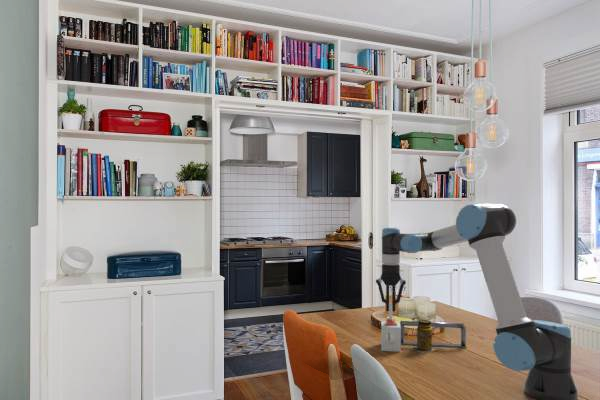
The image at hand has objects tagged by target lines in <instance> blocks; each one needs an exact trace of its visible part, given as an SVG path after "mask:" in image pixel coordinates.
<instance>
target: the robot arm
mask: <svg viewBox="0 0 600 400" xmlns="http://www.w3.org/2000/svg"><path fill="white" fill-rule="evenodd" d="M516 224H517V217H516V215H515V213H514V211H513V210H512V209H511V208H510V207H509V206H507V205H505V204H502V203H472V204H467V205H464V206H463V207H462V208H460V210H459V211H458V214H457V216H456V220H455V224H453V225H450V226H447V227H444V228H440V229H436V230H433V231H431V232H425V233H423V232H422V233H401V231H400V228H399V227H384V228H382V230H381V231H382V232H381V263H382V264H381V275H380V277H379V278H376V280H375V283H376V284H377V286H378V290H379V294H380V299H381V302H382V303H383V304H384V303H385V310H386V312H388V319H389V320H392V319H393V312H396V304H398V303H400V302H401V301H400V300H401V297H402V294H403V291H404V290H403V289H404V286H405V285H406V283H407V281H406V279H403V278H402V277H401V269H400V268H401V267H400V261H401V256H400V255H401V253H400V252H402V253H408V254H417V253H418V252H419V253H420V252H431V251H432V252H435V251H436V252H437V251H441V250H443V249H444V248H448V247H451V246H455V245H459V244H463V243H466V242H467V243H468V246H469V248H471V249H473V250H474V251H475V252H476V256H477V259H478V261H479V266H480V268H481V271H482V273H483V278H484V281H485V284H486V287H487V290H488V293H489V297H490V299H491V302H492V306H493V309H494V313H495V315H496V318H497V322H498V323H497V325H496V326H495V331H496V336H495V337H494V339H493V340H494V342H493V343H492V345H493V346H492V347H493V352H494V354H495V357H496V358H497V360H499V362H500V363H501V364H502V365H503V366H504V367H506V368H507V369H509V370H510V371H513V372H522V371H528V373H527V376H526V379H525V382H524V392H525V394H527V395H528V396H530V397H532V398H534V399H537V400H578V389H577V386H576V383H575V381H574V378H573V375H572V333H571V328H570V327H568V326H566V325H565V324H562V323H557V322H554V321H553V322H552V321H548V320H547V321H546V320H541V319H540V320H537V319H532V318H530V317H528V316H527V313H526V309H525V307H524V304H523V302H522V298H521V295H520V292H519V289H518V287H517V283H516V281H515V278H514V275H513V271H512V269H511V265H510V263H509V260H508V257H507V254H506V251H505V248H504V245H503V243H504V241H505V239H506V236H508V235H510V234H511V233H513V231H514V230H515V227H516ZM382 282H383V283H384V285H385V290H386V291H385V295H386V296H385V295H384V291H383V288H382V287H383V286H382ZM398 284H400V286H399V288H398V293H397V296H396V285H398ZM390 286H392V287H391V290H392V291H391V292H392V294H391V295H392V297H391V299H392V302H390Z"/></svg>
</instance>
